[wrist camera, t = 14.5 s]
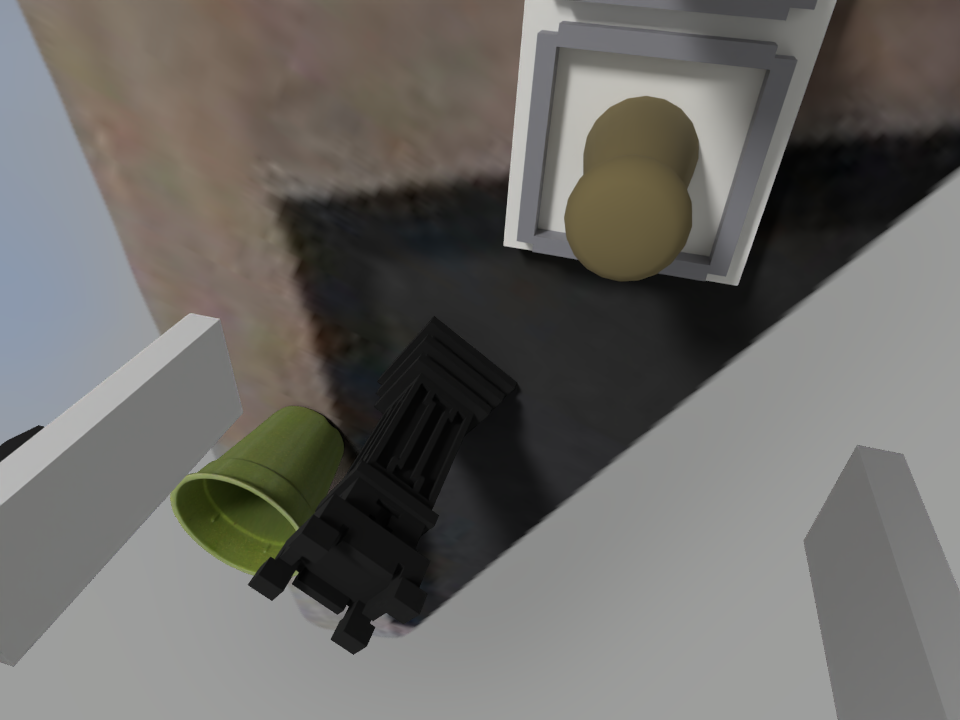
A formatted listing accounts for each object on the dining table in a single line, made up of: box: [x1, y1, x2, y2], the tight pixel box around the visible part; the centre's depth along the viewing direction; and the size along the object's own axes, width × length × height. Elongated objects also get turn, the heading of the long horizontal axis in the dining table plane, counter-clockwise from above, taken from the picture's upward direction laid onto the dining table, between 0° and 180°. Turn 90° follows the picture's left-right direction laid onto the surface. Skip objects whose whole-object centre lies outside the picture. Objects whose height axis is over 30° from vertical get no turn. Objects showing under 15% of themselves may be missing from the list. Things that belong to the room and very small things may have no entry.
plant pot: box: [170, 406, 344, 577], centre depth 52 cm, size 12×12×11 cm
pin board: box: [504, 0, 837, 286], centre depth 26 cm, size 26×14×13 cm, turn 176°
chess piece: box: [248, 316, 517, 655], centre depth 40 cm, size 8×8×20 cm
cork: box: [564, 96, 699, 281], centre depth 28 cm, size 6×6×11 cm
